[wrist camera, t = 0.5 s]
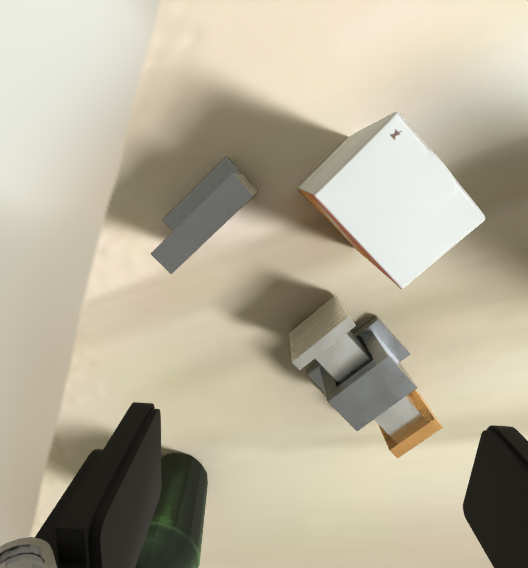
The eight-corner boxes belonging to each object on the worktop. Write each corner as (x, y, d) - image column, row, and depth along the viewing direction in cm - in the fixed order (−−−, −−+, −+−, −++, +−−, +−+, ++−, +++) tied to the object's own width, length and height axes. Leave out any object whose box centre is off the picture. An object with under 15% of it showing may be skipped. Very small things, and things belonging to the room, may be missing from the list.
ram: (335, 294, 35) (348, 316, 29) (424, 391, 38) (451, 430, 32) (288, 333, 36) (291, 362, 31) (377, 425, 39) (396, 467, 33)
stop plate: (227, 157, 33) (211, 149, 24) (258, 191, 33) (253, 195, 25) (165, 219, 34) (129, 232, 25) (196, 250, 35) (171, 274, 26)
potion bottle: (129, 468, 42) (29, 671, 25) (185, 433, 41) (120, 623, 23) (174, 515, 44) (110, 735, 26) (229, 483, 42) (200, 695, 25)
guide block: (375, 315, 36) (396, 342, 30) (406, 349, 37) (432, 383, 31) (306, 370, 38) (313, 406, 32) (337, 401, 39) (349, 442, 33)
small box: (295, 188, 33) (310, 194, 21) (349, 134, 32) (398, 106, 19) (355, 251, 35) (403, 292, 22) (409, 202, 33) (491, 216, 21)
